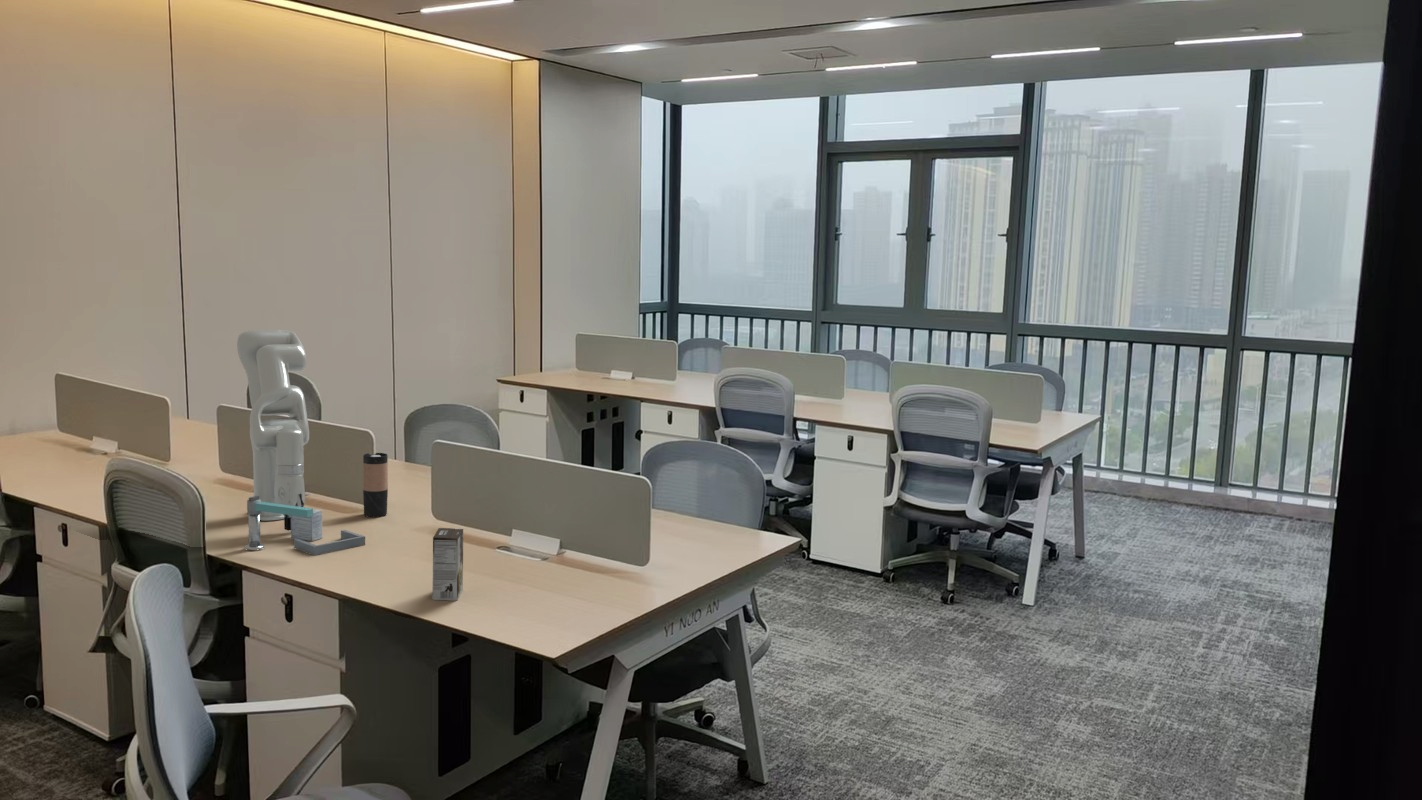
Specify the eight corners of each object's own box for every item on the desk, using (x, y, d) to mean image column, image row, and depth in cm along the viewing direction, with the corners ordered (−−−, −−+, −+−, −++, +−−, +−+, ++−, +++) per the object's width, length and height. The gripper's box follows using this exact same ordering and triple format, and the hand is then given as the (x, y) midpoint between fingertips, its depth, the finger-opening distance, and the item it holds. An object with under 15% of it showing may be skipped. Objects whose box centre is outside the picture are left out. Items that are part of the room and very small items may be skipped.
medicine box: (322, 538, 304) (322, 510, 303) (312, 542, 300) (312, 513, 299) (301, 535, 306) (300, 506, 305) (290, 538, 302) (290, 510, 301)
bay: (294, 548, 292) (294, 539, 292) (344, 537, 305) (344, 529, 305) (314, 555, 286) (314, 546, 286) (365, 544, 299) (365, 536, 299)
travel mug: (380, 518, 330) (380, 457, 327) (358, 516, 331) (358, 455, 329) (392, 513, 337) (392, 453, 335) (370, 511, 339) (370, 451, 336)
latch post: (241, 548, 290) (241, 514, 289) (258, 545, 294) (258, 511, 293) (250, 551, 287) (250, 517, 286) (267, 548, 291) (267, 514, 290)
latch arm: (253, 511, 291) (253, 494, 291) (314, 519, 285) (314, 502, 285) (244, 513, 288) (244, 497, 287) (305, 522, 282) (305, 505, 281)
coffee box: (438, 589, 261) (438, 527, 259) (463, 589, 262) (464, 528, 260) (431, 600, 252) (431, 536, 250) (457, 600, 253) (458, 537, 251)
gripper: (265, 467, 307) (265, 527, 310) (291, 474, 298) (292, 536, 301) (288, 464, 313) (289, 522, 316) (315, 471, 304) (316, 531, 307)
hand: (290, 529), depth 308 cm, fingers closed
